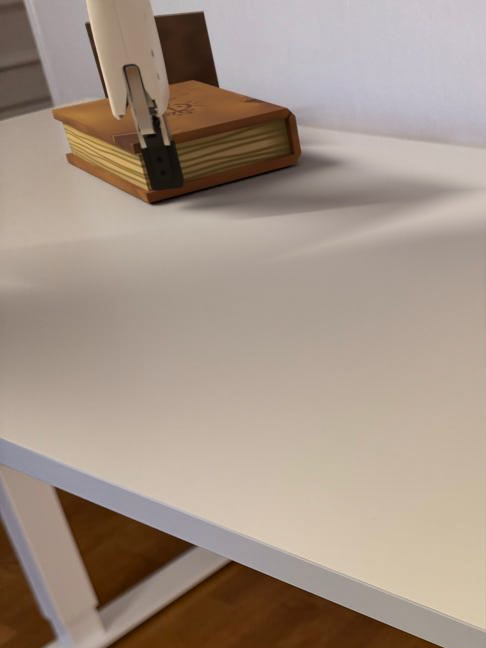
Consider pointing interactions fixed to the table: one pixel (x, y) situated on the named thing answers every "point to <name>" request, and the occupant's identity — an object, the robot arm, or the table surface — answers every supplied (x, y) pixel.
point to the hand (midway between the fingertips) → (168, 186)
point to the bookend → (179, 48)
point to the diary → (184, 139)
